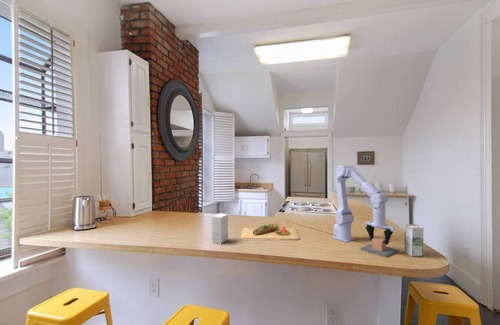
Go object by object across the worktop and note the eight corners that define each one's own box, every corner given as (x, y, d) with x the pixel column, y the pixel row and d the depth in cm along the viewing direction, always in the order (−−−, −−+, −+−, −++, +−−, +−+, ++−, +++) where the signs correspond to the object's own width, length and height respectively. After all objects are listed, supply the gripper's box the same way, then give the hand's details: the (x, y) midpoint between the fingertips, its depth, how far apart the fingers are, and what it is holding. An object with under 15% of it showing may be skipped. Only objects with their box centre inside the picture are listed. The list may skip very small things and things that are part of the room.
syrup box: (415, 252, 127) (415, 223, 127) (423, 256, 121) (423, 226, 121) (404, 252, 127) (404, 224, 127) (412, 257, 121) (412, 226, 121)
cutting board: (294, 230, 171) (294, 219, 171) (299, 241, 148) (299, 228, 148) (243, 230, 172) (243, 219, 172) (240, 241, 149) (240, 228, 149)
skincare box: (219, 238, 151) (219, 213, 151) (229, 240, 148) (228, 213, 148) (211, 242, 144) (211, 215, 144) (221, 244, 141) (221, 216, 141)
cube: (371, 248, 130) (371, 238, 130) (376, 246, 133) (376, 237, 133) (381, 251, 126) (381, 241, 126) (386, 249, 129) (386, 239, 129)
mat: (360, 249, 131) (360, 248, 131) (373, 245, 139) (373, 243, 139) (386, 257, 121) (386, 255, 121) (398, 251, 128) (398, 249, 128)
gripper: (361, 214, 133) (361, 240, 133) (390, 219, 122) (390, 247, 122) (368, 212, 137) (368, 237, 137) (396, 217, 126) (396, 244, 126)
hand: (379, 242), depth 130 cm, fingers open, 7 cm apart
